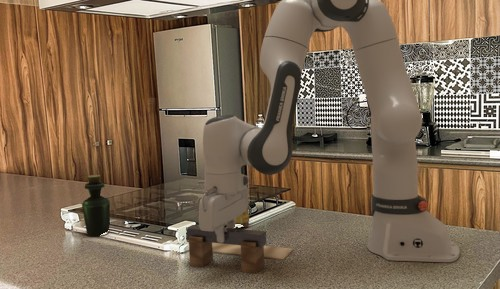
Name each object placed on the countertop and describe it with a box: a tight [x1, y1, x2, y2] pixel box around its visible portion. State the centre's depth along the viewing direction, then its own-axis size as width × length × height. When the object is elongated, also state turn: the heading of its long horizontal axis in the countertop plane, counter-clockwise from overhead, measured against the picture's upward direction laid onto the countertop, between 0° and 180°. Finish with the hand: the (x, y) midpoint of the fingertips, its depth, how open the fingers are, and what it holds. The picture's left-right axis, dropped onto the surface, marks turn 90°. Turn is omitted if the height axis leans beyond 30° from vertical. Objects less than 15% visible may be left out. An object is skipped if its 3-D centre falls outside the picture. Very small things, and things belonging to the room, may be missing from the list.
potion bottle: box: [81, 174, 111, 238], centre depth 155 cm, size 8×8×18 cm
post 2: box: [240, 241, 265, 274], centre depth 121 cm, size 4×5×7 cm, turn 157°
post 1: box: [188, 236, 214, 268], centre depth 127 cm, size 4×5×7 cm, turn 157°
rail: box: [185, 224, 267, 247], centre depth 123 cm, size 20×3×3 cm, turn 67°
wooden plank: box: [212, 243, 294, 261], centre depth 135 cm, size 24×8×1 cm, turn 67°
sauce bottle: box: [235, 165, 250, 228], centre depth 157 cm, size 7×6×20 cm
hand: (225, 239), depth 124 cm, fingers closed on rail, 3 cm apart
